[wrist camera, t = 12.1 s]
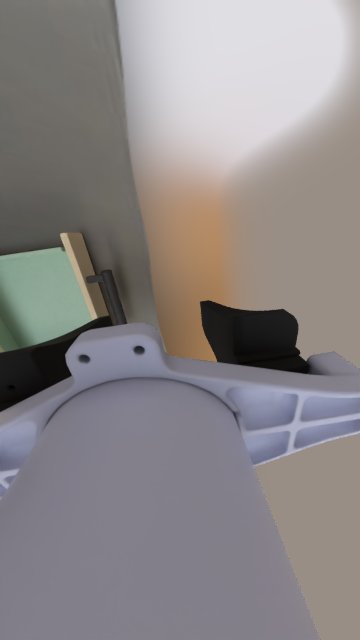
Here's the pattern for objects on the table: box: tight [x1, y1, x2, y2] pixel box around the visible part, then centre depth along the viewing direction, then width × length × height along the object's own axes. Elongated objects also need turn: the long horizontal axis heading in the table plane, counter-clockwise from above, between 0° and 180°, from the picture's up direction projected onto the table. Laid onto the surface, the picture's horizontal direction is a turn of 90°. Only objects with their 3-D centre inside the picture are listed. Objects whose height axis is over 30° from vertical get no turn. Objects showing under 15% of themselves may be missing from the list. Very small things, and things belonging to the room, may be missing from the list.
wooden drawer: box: [0, 233, 127, 352], centre depth 20 cm, size 14×14×3 cm
